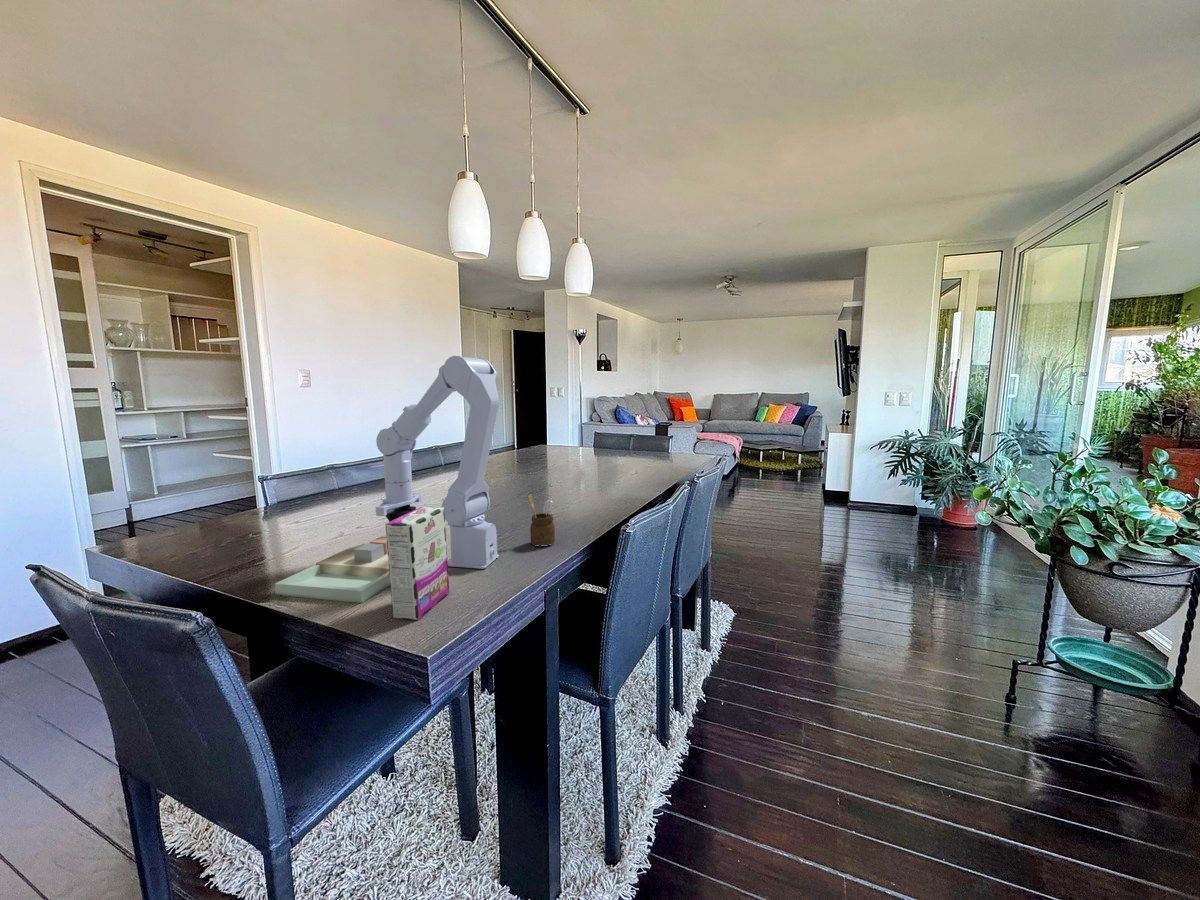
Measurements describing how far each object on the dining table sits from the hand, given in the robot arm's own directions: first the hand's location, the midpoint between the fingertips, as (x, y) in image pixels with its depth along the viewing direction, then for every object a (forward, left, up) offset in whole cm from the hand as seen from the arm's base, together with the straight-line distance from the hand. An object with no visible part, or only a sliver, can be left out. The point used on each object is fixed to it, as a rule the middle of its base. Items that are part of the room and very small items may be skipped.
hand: (401, 538), depth 114 cm
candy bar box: (-20, +25, -3) cm, 32 cm away
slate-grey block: (0, +11, -1) cm, 12 cm away
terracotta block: (0, +6, -1) cm, 7 cm away
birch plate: (0, +9, -3) cm, 10 cm away
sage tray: (0, +21, -3) cm, 21 cm away
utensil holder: (-30, -12, -3) cm, 33 cm away
